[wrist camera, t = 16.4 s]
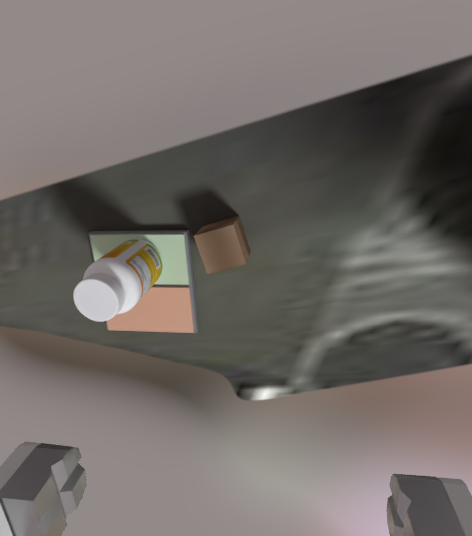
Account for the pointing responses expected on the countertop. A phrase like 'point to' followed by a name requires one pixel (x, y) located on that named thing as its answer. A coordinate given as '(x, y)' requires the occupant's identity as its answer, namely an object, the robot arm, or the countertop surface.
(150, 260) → the supplement bottle
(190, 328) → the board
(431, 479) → the robot arm
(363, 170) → the countertop surface
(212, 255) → the walnut block
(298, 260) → the countertop surface
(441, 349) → the countertop surface
